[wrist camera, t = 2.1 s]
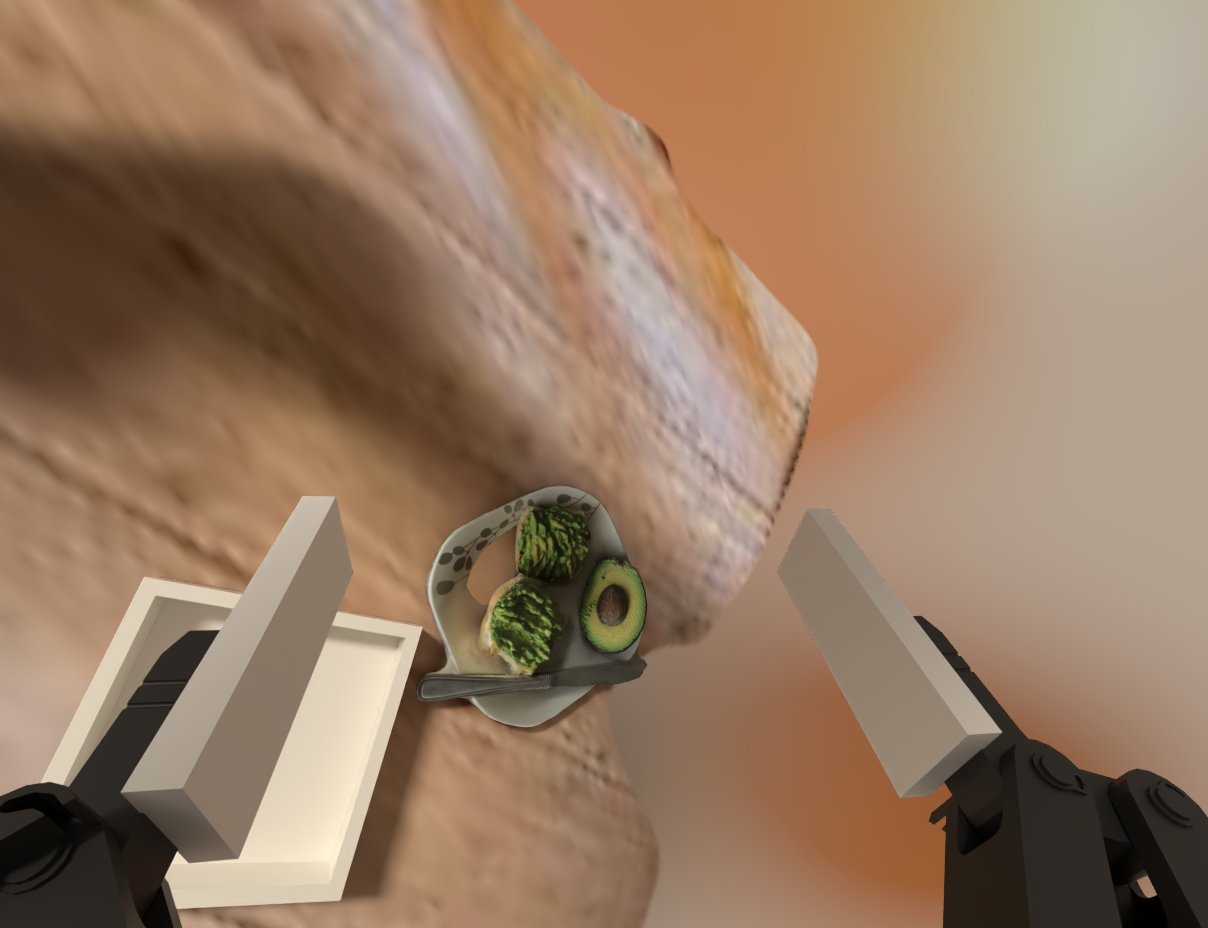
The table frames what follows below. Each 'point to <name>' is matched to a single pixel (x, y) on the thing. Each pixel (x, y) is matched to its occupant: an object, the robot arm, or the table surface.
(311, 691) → the cream square tray
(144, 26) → the table surface
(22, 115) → the table surface
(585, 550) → the salad plate
